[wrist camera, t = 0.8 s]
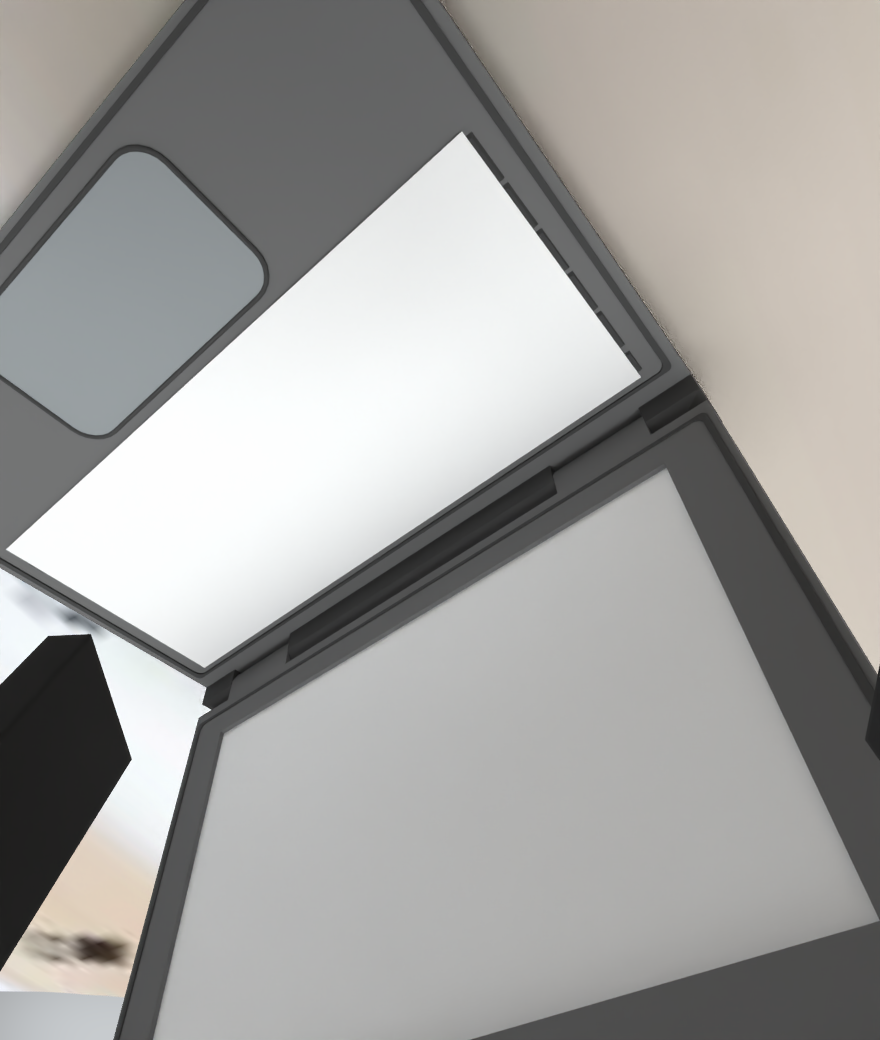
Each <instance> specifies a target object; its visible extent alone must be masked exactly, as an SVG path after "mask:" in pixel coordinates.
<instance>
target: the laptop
mask: <svg viewBox="0 0 880 1040" xmlns="http://www.w3.org/2000/svg"><path fill="white" fill-rule="evenodd" d="M0 568H1V569H3V570H5V571H6V572H8V573H10V574H12V575H13V576H15V577H17V578H19V579H20V580H22V581H24V582H25V583H27V584H29V585H31V586H32V587H34V588H36V589H38V590H39V591H41V592H43V593H44V594H46V595H48V596H50V597H51V598H53V599H55V600H57V601H58V602H60V603H62V604H63V605H65V606H67V607H69V608H70V609H72V610H74V611H76V612H77V613H79V614H81V615H82V616H84V617H86V618H88V619H89V620H91V621H93V622H94V623H96V624H98V625H100V626H101V627H103V628H105V629H107V630H108V631H110V632H112V633H113V634H115V635H117V636H119V637H120V638H122V639H124V640H126V641H127V642H129V643H131V644H132V645H134V646H136V647H138V648H139V649H141V650H143V651H145V652H146V653H148V654H150V655H151V656H153V657H155V658H157V659H158V660H160V661H162V662H164V663H165V664H167V665H169V666H170V667H172V668H174V669H176V670H177V671H179V672H181V673H182V674H184V675H186V676H188V677H189V678H191V679H193V680H195V681H196V682H198V683H200V684H201V685H203V686H205V687H207V688H206V692H205V696H204V699H203V703H202V704H203V705H204V706H206V707H208V708H210V709H211V711H209V712H208V713H206V714H204V715H203V716H201V717H200V718H199V720H198V723H197V727H196V731H195V735H194V738H193V742H192V746H191V749H190V753H189V757H188V761H187V765H186V768H185V772H184V776H183V780H182V783H181V787H180V791H179V795H178V798H177V802H176V806H175V810H174V814H173V817H172V821H171V825H170V829H169V832H168V836H167V840H166V844H165V847H164V851H163V855H162V859H161V862H160V866H159V870H158V874H157V878H156V881H155V885H154V889H153V893H152V896H151V900H150V904H149V908H148V911H147V915H146V919H145V923H144V926H143V930H142V934H141V938H140V942H139V945H138V949H137V953H136V957H135V960H134V964H133V968H132V972H131V975H130V979H129V983H128V987H127V990H126V994H125V998H124V1002H123V1006H122V1010H121V1013H120V1017H119V1021H118V1024H117V1028H116V1032H115V1036H114V1039H113V1040H880V760H879V759H878V758H877V756H876V755H875V753H874V752H873V751H872V749H871V748H870V746H869V745H868V743H867V742H866V741H865V736H866V731H867V726H868V721H869V716H870V711H871V706H872V701H873V696H874V691H875V686H876V681H877V676H878V674H877V673H876V671H875V670H874V668H873V666H872V665H871V663H870V661H869V660H868V658H867V657H866V655H865V653H864V652H863V650H862V648H861V647H860V645H859V644H858V642H857V640H856V639H855V637H854V635H853V634H852V632H851V631H850V629H849V627H848V626H847V624H846V622H845V621H844V619H843V618H842V616H841V614H840V613H839V611H838V609H837V608H836V606H835V605H834V603H833V601H832V600H831V598H830V596H829V595H828V593H827V592H826V590H825V588H824V587H823V585H822V583H821V582H820V580H819V579H818V577H817V575H816V574H815V572H814V570H813V569H812V567H811V566H810V564H809V562H808V561H807V559H806V557H805V556H804V554H803V553H802V551H801V549H800V548H799V546H798V544H797V543H796V541H795V540H794V538H793V536H792V535H791V533H790V532H789V530H788V528H787V527H786V525H785V523H784V522H783V520H782V519H781V517H780V515H779V514H778V512H777V510H776V509H775V507H774V506H773V504H772V502H771V501H770V499H769V497H768V496H767V494H766V493H765V491H764V489H763V488H762V486H761V484H760V483H759V481H758V480H757V478H756V476H755V475H754V473H753V471H752V470H751V468H750V467H749V465H748V463H747V462H746V460H745V458H744V457H743V455H742V454H741V452H740V450H739V449H738V447H737V445H736V444H735V442H734V441H733V439H732V437H731V436H730V434H729V433H728V431H727V429H726V428H725V426H724V425H723V423H722V420H721V419H720V417H719V416H718V414H717V412H716V411H715V409H714V408H713V406H712V404H711V403H710V401H709V400H708V398H707V396H706V395H705V393H704V392H703V390H702V389H701V387H700V386H699V384H698V383H697V381H696V380H695V378H694V377H693V375H692V374H691V372H690V371H689V369H688V368H687V366H686V365H685V363H684V362H683V360H682V359H681V357H680V356H679V354H678V353H677V352H676V350H675V349H674V347H673V346H672V344H671V343H670V341H669V340H668V338H667V337H666V335H665V334H664V332H663V331H662V329H661V328H660V326H659V325H658V323H657V322H656V320H655V319H654V317H653V316H652V314H651V313H650V311H649V310H648V309H647V307H646V306H645V304H644V303H643V301H642V300H641V298H640V297H639V295H638V294H637V292H636V291H635V289H634V288H633V286H632V285H631V283H630V282H629V280H628V279H627V277H626V276H625V274H624V273H623V271H622V270H621V269H620V267H619V266H618V264H617V263H616V261H615V260H614V258H613V257H612V255H611V254H610V252H609V251H608V249H607V248H606V246H605V245H604V243H603V242H602V240H601V239H600V237H599V236H598V234H597V233H596V231H595V230H594V228H593V227H592V226H591V224H590V223H589V221H588V220H587V218H586V217H585V215H584V214H583V212H582V211H581V209H580V208H579V206H578V205H577V203H576V202H575V200H574V199H573V197H572V196H571V194H570V193H569V191H568V190H567V188H566V187H565V186H564V184H563V183H562V181H561V180H560V178H559V177H558V175H557V174H556V172H555V171H554V169H553V168H552V166H551V165H550V163H549V162H548V160H547V159H546V157H545V156H544V154H543V153H542V151H541V150H540V148H539V147H538V145H537V144H536V143H535V141H534V140H533V138H532V137H531V135H530V134H529V132H528V131H527V129H526V128H525V126H524V125H523V123H522V122H521V120H520V119H519V117H518V116H517V114H516V113H515V111H514V110H513V108H512V107H511V105H510V104H509V102H508V101H507V100H506V98H505V97H504V95H503V94H502V92H501V91H500V89H499V88H498V86H497V85H496V83H495V82H494V80H493V79H492V77H491V76H490V74H489V73H488V71H487V70H486V68H485V67H484V65H483V64H482V62H481V61H480V60H479V58H478V57H477V55H476V54H475V52H474V51H473V49H472V48H471V46H470V45H469V43H468V42H467V40H466V39H465V37H464V36H463V34H462V33H461V31H460V30H459V28H458V27H457V25H456V24H455V22H454V21H453V19H452V18H451V17H450V15H449V14H448V12H447V11H446V9H445V8H444V6H443V5H442V4H441V2H440V1H439V0H185V1H184V2H183V3H182V4H181V6H180V7H179V8H178V9H177V11H176V12H175V13H174V14H173V16H172V17H171V18H170V19H169V21H168V22H167V23H166V24H165V26H164V27H163V28H162V29H161V31H160V32H159V33H158V34H157V35H156V37H155V38H154V39H153V40H152V42H151V43H150V44H149V45H148V47H147V48H146V49H145V50H144V52H143V53H142V54H141V55H140V57H139V58H138V59H137V60H136V62H135V63H134V64H133V65H132V67H131V68H130V69H129V70H128V72H127V73H126V74H125V75H124V77H123V78H122V79H121V80H120V82H119V83H118V84H117V85H116V87H115V88H114V89H113V90H112V92H111V93H110V94H109V95H108V96H107V98H106V99H105V100H104V101H103V103H102V104H101V105H100V106H99V108H98V109H97V110H96V111H95V113H94V114H93V115H92V116H91V118H90V119H89V120H88V121H87V123H86V124H85V125H84V126H83V128H82V129H81V130H80V131H79V133H78V134H77V135H76V136H75V138H74V139H73V140H72V141H71V143H70V144H69V145H68V146H67V148H66V149H65V150H64V151H63V153H62V154H61V155H60V156H59V157H58V159H57V160H56V161H55V162H54V164H53V165H52V166H51V167H50V169H49V170H48V171H47V172H46V174H45V175H44V176H43V177H42V179H41V180H40V181H39V182H38V184H37V185H36V186H35V187H34V189H33V190H32V191H31V192H30V194H29V195H28V196H27V197H26V199H25V200H24V201H23V202H22V204H21V205H20V206H19V207H18V209H17V210H16V211H15V212H14V214H13V215H12V216H11V217H10V218H9V220H8V221H7V222H6V223H5V225H4V226H3V227H2V228H1V230H0Z"/></svg>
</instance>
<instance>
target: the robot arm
mask: <svg viewBox="0 0 880 1040" xmlns="http://www.w3.org/2000/svg"><path fill="white" fill-rule="evenodd" d="M865 741H866V742H867V743H868V745H869V746H870V748H871V749H872V751H873V752H874V753H875V755H876V756H877V758H878V759H879V760H880V666H879V671H878V676H877V681H876V686H875V691H874V696H873V701H872V706H871V711H870V716H869V721H868V726H867V731H866V736H865ZM131 760H132V759H131V755H130V752H129V749H128V746H127V743H126V740H125V737H124V734H123V731H122V728H121V725H120V722H119V719H118V716H117V713H116V710H115V707H114V703H113V700H112V697H111V694H110V691H109V688H108V685H107V682H106V679H105V676H104V673H103V670H102V667H101V664H100V661H99V658H98V654H97V651H96V648H95V645H94V642H93V639H92V636H91V634H85V635H61V636H48V637H47V638H46V639H45V640H44V641H43V642H42V643H41V644H40V645H39V646H38V647H37V648H36V649H35V650H34V651H33V652H32V653H31V654H30V655H29V656H28V657H27V658H26V659H25V660H24V661H23V662H22V663H21V664H20V665H19V666H18V667H17V668H16V669H15V670H14V671H13V672H12V673H11V674H10V675H9V676H8V677H7V679H6V680H5V681H4V682H3V683H2V684H1V685H0V971H1V969H2V968H3V966H4V964H5V963H6V961H7V960H8V958H9V956H10V955H11V953H12V951H13V950H14V948H15V947H16V945H17V943H18V942H19V940H20V939H21V937H22V935H23V934H24V932H25V931H26V929H27V927H28V926H29V924H30V922H31V921H32V919H33V918H34V916H35V914H36V913H37V911H38V910H39V908H40V906H41V905H42V903H43V902H44V900H45V898H46V897H47V895H48V893H49V892H50V890H51V889H52V887H53V885H54V884H55V882H56V881H57V879H58V877H59V876H60V874H61V873H62V871H63V869H64V868H65V866H66V864H67V863H68V861H69V860H70V858H71V856H72V855H73V853H74V852H75V850H76V848H77V847H78V845H79V844H80V842H81V840H82V839H83V837H84V835H85V834H86V832H87V831H88V829H89V827H90V826H91V824H92V823H93V821H94V819H95V818H96V816H97V815H98V813H99V811H100V810H101V808H102V806H103V805H104V803H105V802H106V800H107V798H108V797H109V795H110V794H111V792H112V790H113V789H114V787H115V785H116V784H117V782H118V781H119V779H120V777H121V776H122V774H123V773H124V771H125V769H126V768H127V766H128V765H129V763H130V761H131Z"/></svg>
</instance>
